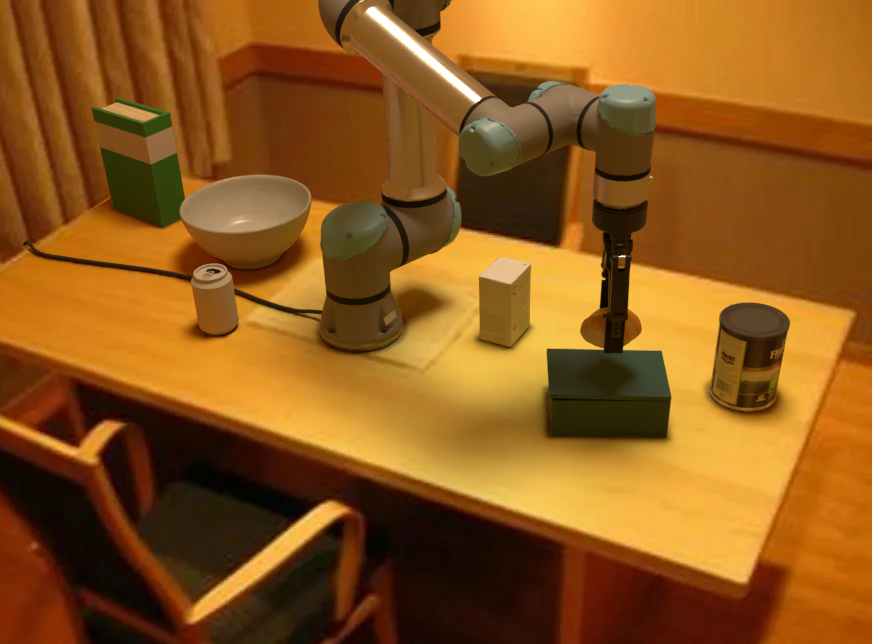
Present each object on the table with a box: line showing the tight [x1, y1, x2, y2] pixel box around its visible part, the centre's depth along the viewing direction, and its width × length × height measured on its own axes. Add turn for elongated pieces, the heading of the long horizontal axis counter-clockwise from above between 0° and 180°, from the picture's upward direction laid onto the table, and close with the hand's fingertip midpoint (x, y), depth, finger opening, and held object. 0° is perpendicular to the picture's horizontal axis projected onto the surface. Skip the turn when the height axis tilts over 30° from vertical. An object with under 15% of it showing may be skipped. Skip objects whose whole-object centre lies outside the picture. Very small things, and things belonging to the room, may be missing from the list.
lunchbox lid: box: [546, 348, 672, 402], centre depth 168 cm, size 18×13×1 cm
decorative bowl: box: [179, 174, 313, 270], centre depth 221 cm, size 27×27×12 cm
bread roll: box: [579, 307, 643, 349], centre depth 163 cm, size 8×9×4 cm
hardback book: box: [91, 96, 186, 229], centre depth 238 cm, size 18×7×24 cm, turn 49°
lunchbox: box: [547, 387, 672, 438], centre depth 170 cm, size 18×13×7 cm
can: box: [190, 262, 240, 336], centre depth 199 cm, size 8×8×12 cm
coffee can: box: [709, 302, 791, 412], centre depth 170 cm, size 10×10×14 cm
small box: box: [478, 256, 532, 348], centre depth 190 cm, size 8×6×13 cm
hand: (610, 334), depth 164 cm, fingers closed on bread roll, 9 cm apart
